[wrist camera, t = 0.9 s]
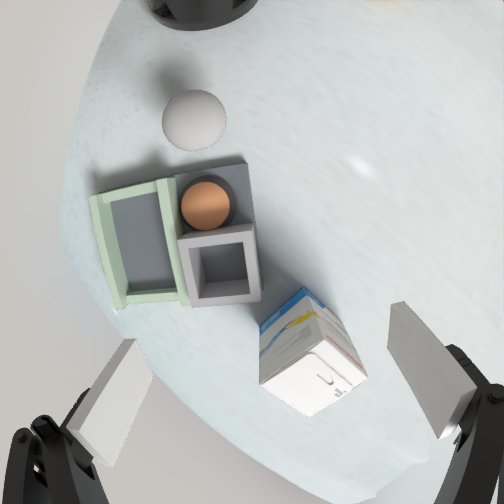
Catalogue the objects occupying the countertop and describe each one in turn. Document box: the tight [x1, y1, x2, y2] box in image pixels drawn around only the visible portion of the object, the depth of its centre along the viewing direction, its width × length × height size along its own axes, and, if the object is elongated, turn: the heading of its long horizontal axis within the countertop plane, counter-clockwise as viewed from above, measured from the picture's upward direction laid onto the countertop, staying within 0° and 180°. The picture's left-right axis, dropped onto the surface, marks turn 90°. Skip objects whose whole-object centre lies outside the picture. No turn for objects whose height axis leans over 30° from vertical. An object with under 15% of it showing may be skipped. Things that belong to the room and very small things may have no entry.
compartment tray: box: [88, 163, 263, 310], centre depth 30 cm, size 15×19×6 cm
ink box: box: [259, 287, 368, 417], centre depth 30 cm, size 9×8×12 cm
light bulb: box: [162, 90, 226, 151], centre depth 24 cm, size 6×6×10 cm
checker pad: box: [181, 182, 230, 230], centre depth 29 cm, size 5×5×1 cm
